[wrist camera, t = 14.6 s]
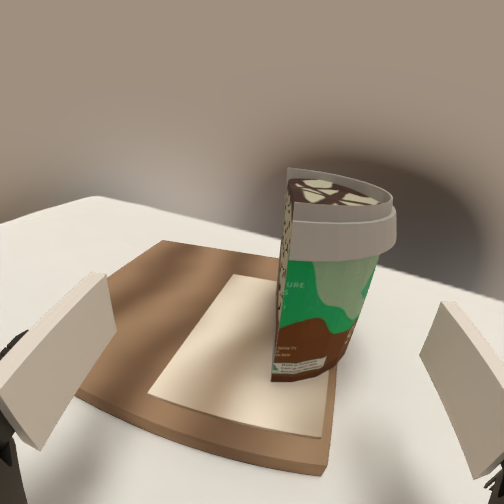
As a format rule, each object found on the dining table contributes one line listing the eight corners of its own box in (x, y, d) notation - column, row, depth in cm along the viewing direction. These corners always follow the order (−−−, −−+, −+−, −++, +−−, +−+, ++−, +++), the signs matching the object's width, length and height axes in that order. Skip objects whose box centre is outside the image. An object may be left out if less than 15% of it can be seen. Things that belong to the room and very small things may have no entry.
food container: (381, 404, 14) (447, 225, 10) (269, 402, 14) (294, 205, 10) (346, 293, 25) (367, 176, 21) (275, 287, 26) (287, 166, 22)
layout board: (20, 360, 15) (13, 345, 15) (163, 249, 35) (162, 238, 35) (321, 476, 11) (328, 463, 11) (336, 278, 31) (339, 266, 30)
